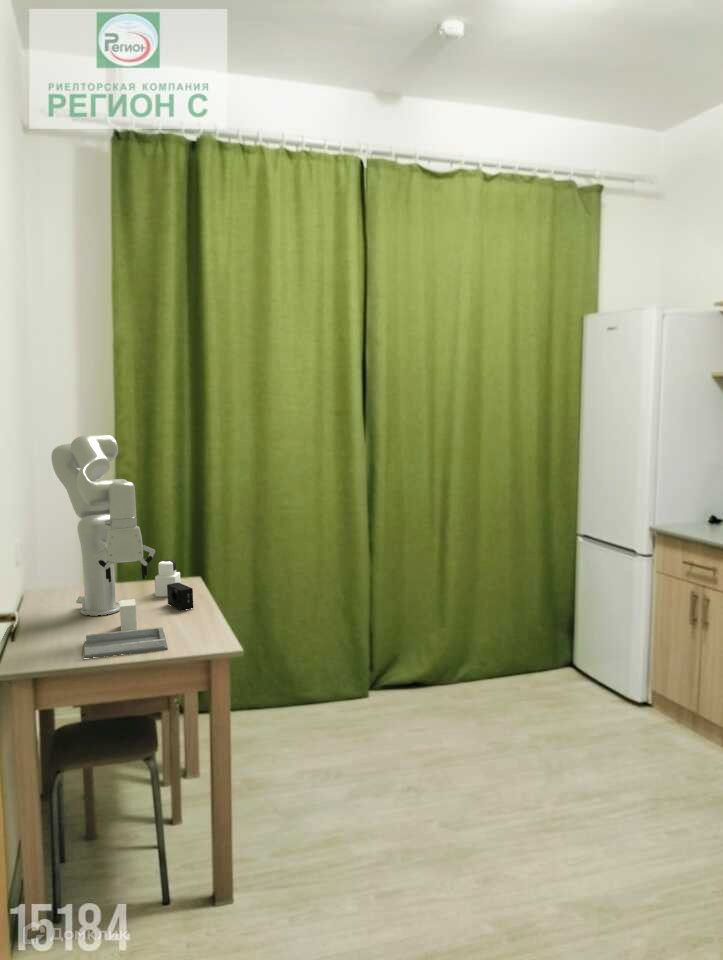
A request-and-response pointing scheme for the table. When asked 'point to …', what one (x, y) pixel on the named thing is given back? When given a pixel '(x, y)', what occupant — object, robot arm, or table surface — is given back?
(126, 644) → the rail guides
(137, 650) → the plate
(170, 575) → the medicine bottle
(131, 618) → the block
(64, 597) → the table surface
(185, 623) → the table surface
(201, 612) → the table surface
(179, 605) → the digital camera
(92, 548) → the robot arm
